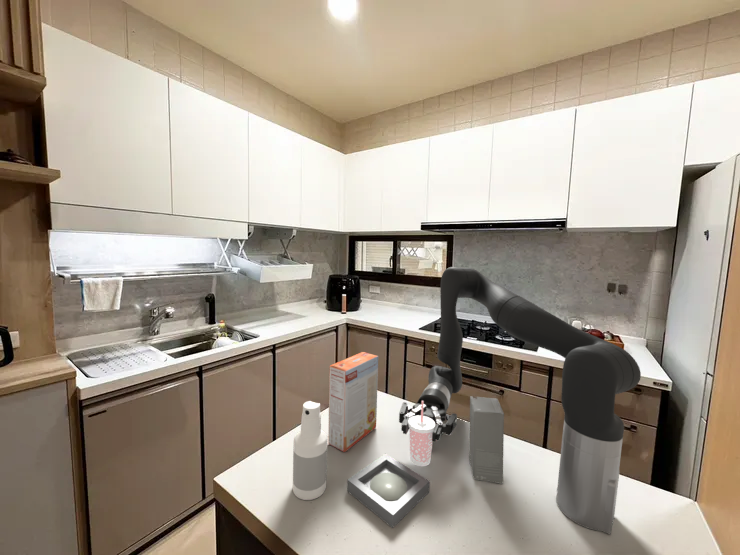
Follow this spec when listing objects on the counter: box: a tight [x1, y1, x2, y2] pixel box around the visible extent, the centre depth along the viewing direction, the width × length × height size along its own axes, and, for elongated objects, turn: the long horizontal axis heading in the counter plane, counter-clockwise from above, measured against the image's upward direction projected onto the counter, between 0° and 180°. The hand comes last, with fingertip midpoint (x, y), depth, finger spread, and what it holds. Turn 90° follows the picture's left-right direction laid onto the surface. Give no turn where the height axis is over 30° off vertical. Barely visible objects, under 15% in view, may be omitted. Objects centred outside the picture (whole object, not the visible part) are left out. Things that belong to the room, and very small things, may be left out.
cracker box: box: [327, 351, 379, 453], centre depth 82 cm, size 14×6×21 cm, turn 144°
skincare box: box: [468, 395, 505, 484], centre depth 72 cm, size 8×7×16 cm
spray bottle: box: [292, 400, 328, 501], centre depth 64 cm, size 7×7×18 cm
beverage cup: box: [408, 401, 435, 467], centre depth 72 cm, size 6×6×14 cm
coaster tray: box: [346, 453, 431, 529], centre depth 64 cm, size 12×12×2 cm
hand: (419, 433), depth 69 cm, fingers closed on beverage cup, 6 cm apart
